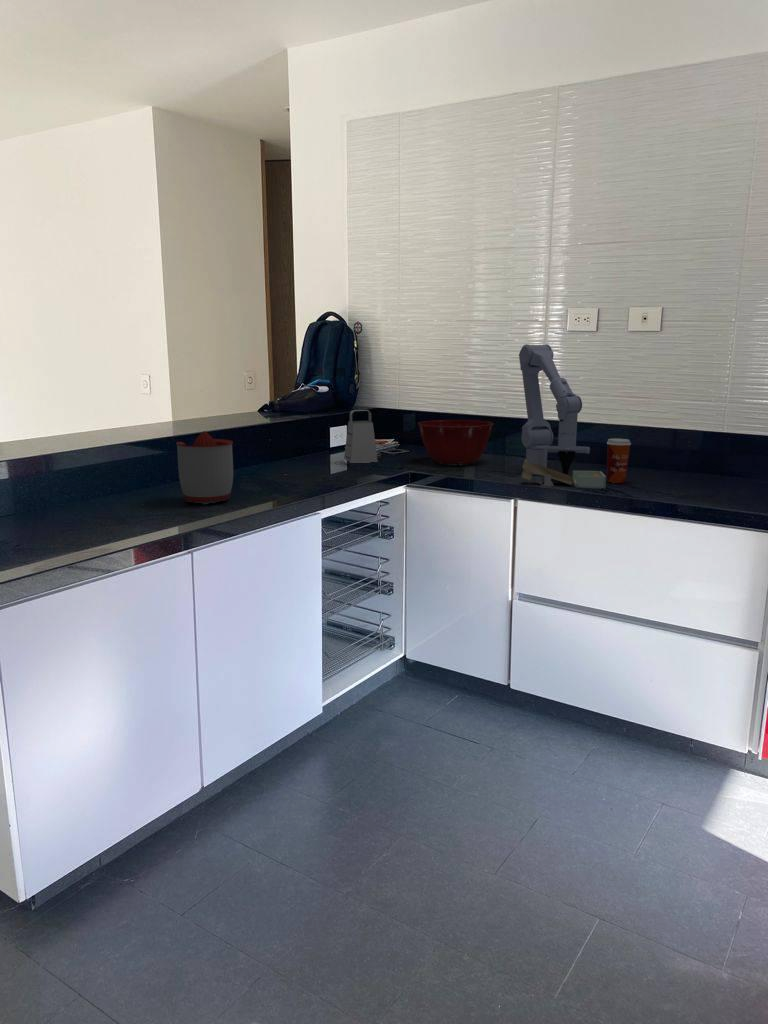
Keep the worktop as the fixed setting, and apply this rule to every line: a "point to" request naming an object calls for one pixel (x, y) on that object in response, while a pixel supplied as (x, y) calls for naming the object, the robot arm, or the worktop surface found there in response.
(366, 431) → the grater
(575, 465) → the worktop surface
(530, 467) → the wooden ramp
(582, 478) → the tray
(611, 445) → the paper cup
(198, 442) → the citrus juicer
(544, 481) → the stand
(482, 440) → the mixing bowl
